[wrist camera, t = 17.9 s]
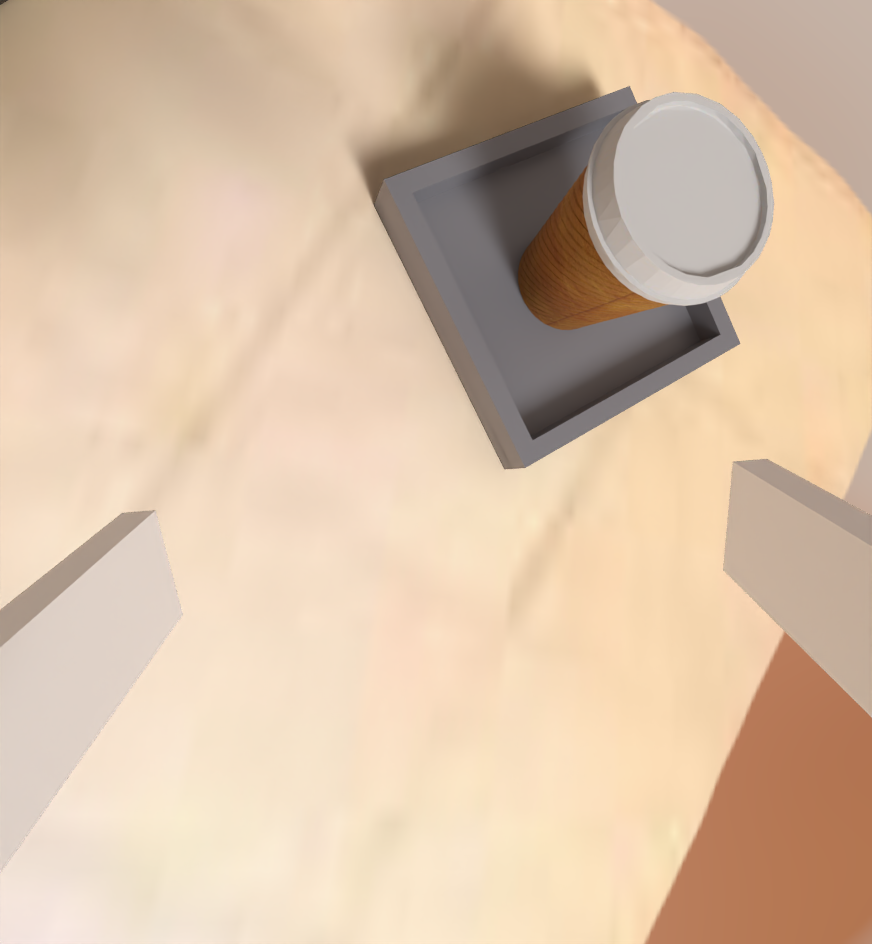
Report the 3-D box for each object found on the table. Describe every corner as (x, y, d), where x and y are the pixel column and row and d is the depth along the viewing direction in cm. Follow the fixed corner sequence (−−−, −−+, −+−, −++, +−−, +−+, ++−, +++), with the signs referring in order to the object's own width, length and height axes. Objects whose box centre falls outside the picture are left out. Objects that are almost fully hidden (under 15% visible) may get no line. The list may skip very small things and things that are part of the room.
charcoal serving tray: (373, 204, 35) (383, 179, 32) (602, 115, 39) (629, 86, 37) (504, 469, 37) (525, 467, 34) (707, 353, 41) (740, 343, 39)
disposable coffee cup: (565, 178, 37) (700, 40, 26) (651, 295, 39) (814, 215, 27) (463, 266, 35) (561, 158, 23) (559, 385, 37) (694, 340, 25)
